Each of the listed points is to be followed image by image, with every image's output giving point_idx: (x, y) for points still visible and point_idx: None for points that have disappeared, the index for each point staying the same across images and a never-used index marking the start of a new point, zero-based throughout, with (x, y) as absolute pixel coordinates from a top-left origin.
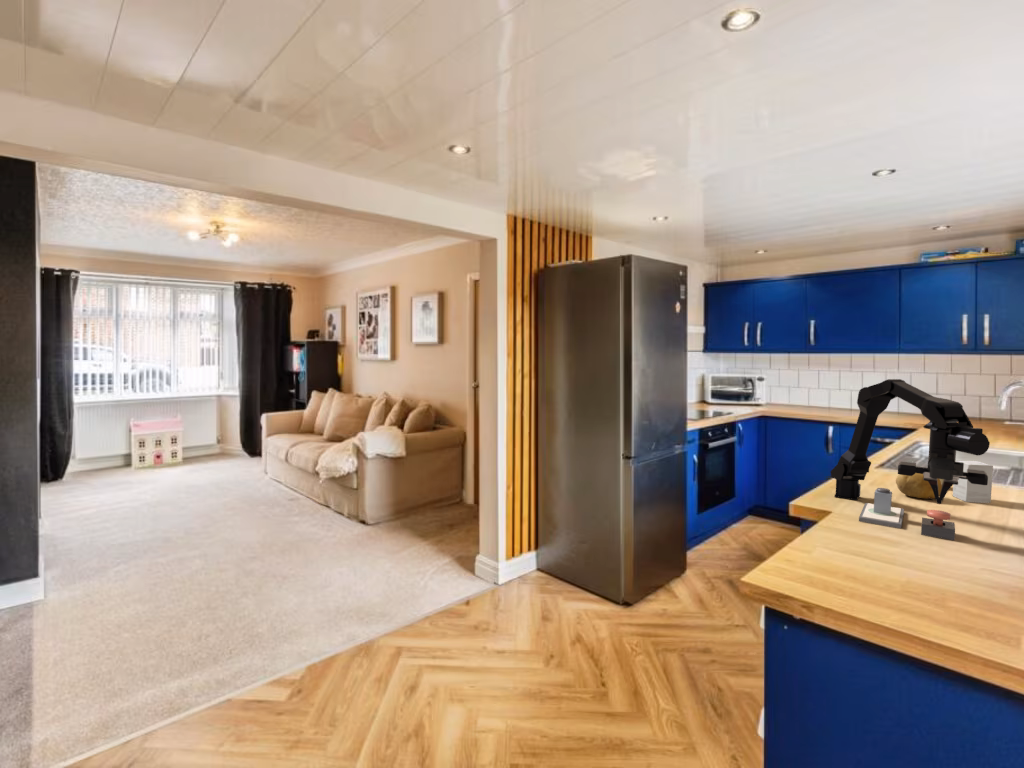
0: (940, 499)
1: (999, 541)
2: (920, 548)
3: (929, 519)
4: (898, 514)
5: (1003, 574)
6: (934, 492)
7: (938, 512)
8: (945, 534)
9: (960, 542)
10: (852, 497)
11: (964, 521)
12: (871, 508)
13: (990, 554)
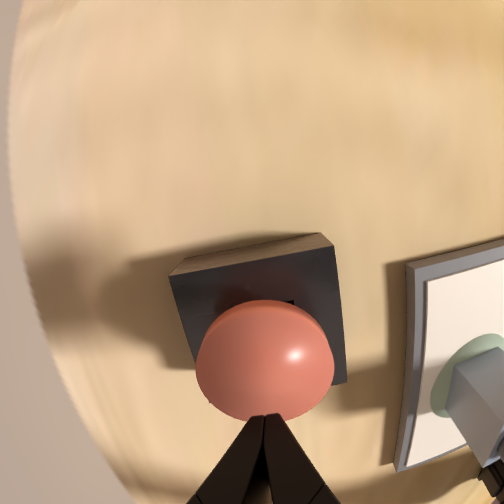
0: (251, 441)
1: (90, 375)
2: (269, 12)
3: None
4: (423, 402)
5: (37, 11)
6: (313, 483)
7: (266, 377)
8: (216, 256)
9: (161, 252)
10: None
11: None
12: None
13: (58, 175)
